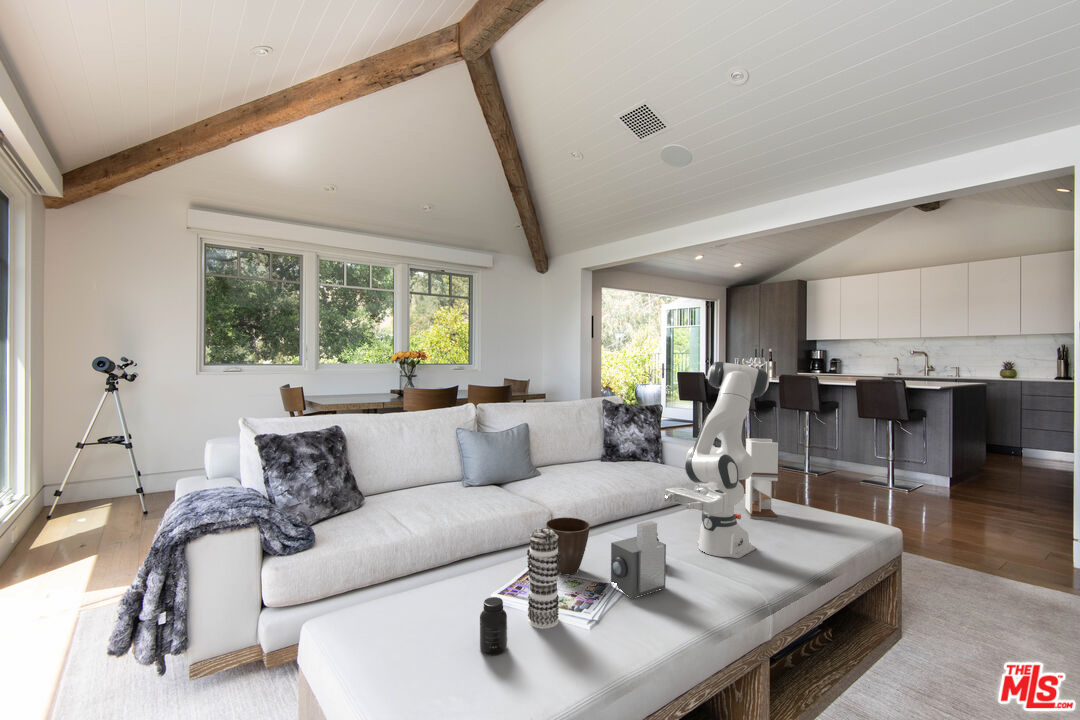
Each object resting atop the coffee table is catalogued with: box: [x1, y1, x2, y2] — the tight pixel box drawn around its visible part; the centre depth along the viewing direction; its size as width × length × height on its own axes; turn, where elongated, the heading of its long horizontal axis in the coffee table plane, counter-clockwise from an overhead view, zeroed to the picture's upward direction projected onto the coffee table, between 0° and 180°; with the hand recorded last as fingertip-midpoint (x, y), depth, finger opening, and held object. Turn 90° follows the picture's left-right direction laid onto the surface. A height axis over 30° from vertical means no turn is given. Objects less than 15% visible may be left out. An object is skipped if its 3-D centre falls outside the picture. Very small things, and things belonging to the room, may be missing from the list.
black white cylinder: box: [526, 527, 560, 630], centre depth 144 cm, size 9×9×25 cm
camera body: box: [610, 536, 667, 599], centre depth 164 cm, size 16×10×14 cm, turn 122°
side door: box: [636, 520, 665, 593], centre depth 160 cm, size 10×2×20 cm, turn 122°
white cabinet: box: [744, 438, 779, 521], centre depth 240 cm, size 11×11×35 cm
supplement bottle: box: [479, 596, 508, 656], centre depth 130 cm, size 7×7×12 cm
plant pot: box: [545, 516, 591, 576], centre depth 177 cm, size 15×15×16 cm
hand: (676, 502), depth 165 cm, fingers open, 8 cm apart
